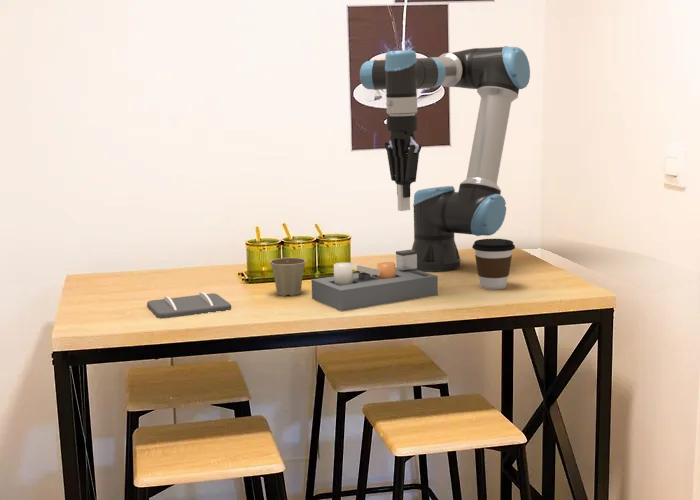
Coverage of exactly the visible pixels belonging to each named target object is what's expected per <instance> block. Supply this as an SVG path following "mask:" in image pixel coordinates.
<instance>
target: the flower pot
mask: <svg viewBox="0 0 700 500" xmlns="http://www.w3.org/2000/svg"><path fill="white" fill-rule="evenodd" d="M305 263H307V260H306V259H304V258H301V257H281V258H274V259H271V260H269V264H270V265H271V269H272V271H273V277H274V283H275V284H274V285H275V289H276V294H277V295H278V296H283V297H286V296H297V295H300V294H301V293H302V284H303V275H304V274H303V273H304V269H305V265H306V264H305Z"/></svg>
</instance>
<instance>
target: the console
mask: <svg viewBox="0 0 700 500" xmlns="http://www.w3.org/2000/svg"><path fill="white" fill-rule="evenodd" d="M395 273H396V277H395V278H388V279H381V278H378V277H377V275H374V274H370V273H365V272H361V271H360V272H355V273H353V284H348V285H341V286H338V285H336V284H334V275H333V276H327V277H326V276H325V277H319V278H313V279H311V299H312V300H313V299H314V300H313V301H316V302H318V301H319V302H318V303H321V304H323V303H324V304H323V305H326V306H328V305H329V306H328V307H330V306H331V308H334V309H335V308H336V310H338V311H340V312H343V311H349V310H355V309H362V308H367V307H374V306H379V305H385V304H392V303H398V302H404V301H410V300H417V299H422V298H428V297H436V296H438V294H439V293H438V292H439V291H438V290H439V288H438V286H439V281H438V277H439V276H438V275H436V274H433V273H429V272H428V271H421V270H416V269H409V270H400V269H397V266H395ZM361 307H362V308H361Z"/></svg>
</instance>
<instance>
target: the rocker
mask: <svg viewBox="0 0 700 500" xmlns="http://www.w3.org/2000/svg"><path fill="white" fill-rule="evenodd" d="M348 263H352V269H353V271H356V272H360V273H361V272H365V273H370V274H374V275H378V276H380V272H381V270H378V269H377V268H374V267H371V266H368V265H362V264H358V263H353V262H348Z"/></svg>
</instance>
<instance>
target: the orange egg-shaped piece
mask: <svg viewBox="0 0 700 500" xmlns="http://www.w3.org/2000/svg"><path fill="white" fill-rule="evenodd" d="M395 268H396V263H395V262H385V261H384V262H379V263H377V264H376V269H378V270H381V272H380V276H378V275H377V277H378V278H381V279H388V278H395V277H396V273H395Z"/></svg>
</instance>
